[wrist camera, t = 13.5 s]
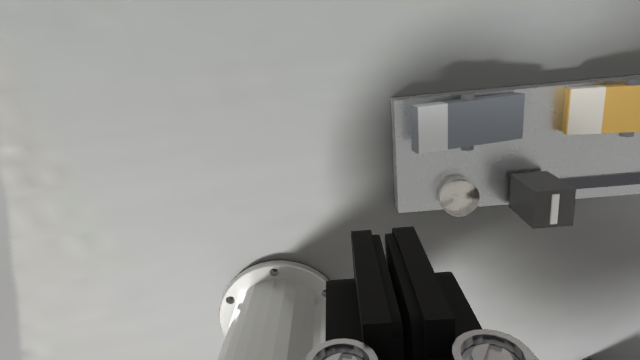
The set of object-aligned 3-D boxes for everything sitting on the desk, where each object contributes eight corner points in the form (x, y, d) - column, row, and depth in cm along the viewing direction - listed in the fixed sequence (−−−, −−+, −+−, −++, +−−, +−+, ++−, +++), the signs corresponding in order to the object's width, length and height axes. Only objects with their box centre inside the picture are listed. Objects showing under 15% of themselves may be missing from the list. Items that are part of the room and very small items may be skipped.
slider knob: (544, 203, 37) (573, 226, 32) (509, 206, 37) (533, 229, 32) (546, 170, 36) (577, 189, 31) (510, 173, 36) (536, 192, 32)
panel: (659, 184, 39) (691, 198, 35) (395, 205, 40) (401, 221, 36) (677, 71, 36) (714, 74, 32) (390, 97, 37) (396, 103, 33)
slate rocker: (512, 140, 36) (522, 143, 34) (411, 155, 34) (417, 158, 33) (515, 87, 34) (525, 88, 33) (409, 100, 33) (416, 102, 32)
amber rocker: (689, 131, 33) (698, 135, 32) (560, 135, 35) (565, 139, 34) (699, 73, 32) (709, 75, 31) (565, 82, 34) (570, 84, 33)
